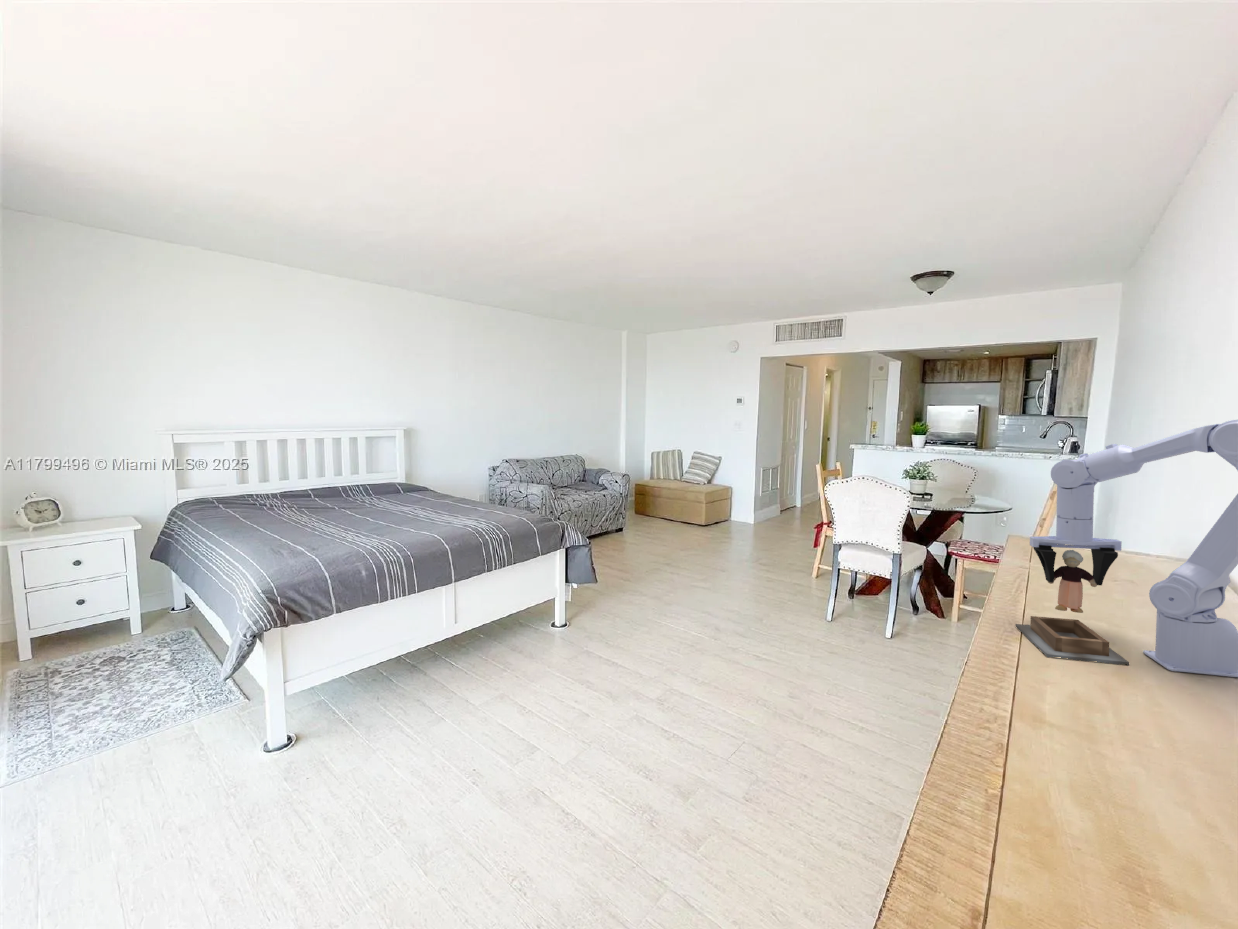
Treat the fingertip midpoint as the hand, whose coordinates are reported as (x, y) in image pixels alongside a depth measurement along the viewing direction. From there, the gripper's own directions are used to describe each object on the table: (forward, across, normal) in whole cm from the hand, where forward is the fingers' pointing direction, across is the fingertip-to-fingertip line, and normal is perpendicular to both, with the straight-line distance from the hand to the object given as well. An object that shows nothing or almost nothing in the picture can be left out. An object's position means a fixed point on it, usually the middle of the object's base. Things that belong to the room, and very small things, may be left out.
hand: (1073, 582), depth 108 cm
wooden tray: (+10, +4, +8) cm, 14 cm away
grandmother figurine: (+6, 0, 0) cm, 6 cm away
